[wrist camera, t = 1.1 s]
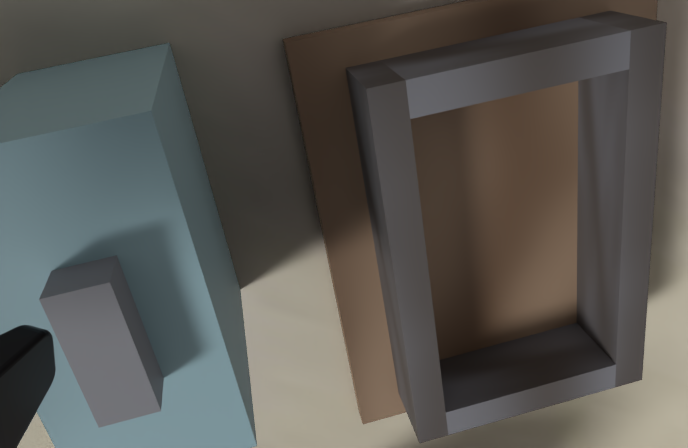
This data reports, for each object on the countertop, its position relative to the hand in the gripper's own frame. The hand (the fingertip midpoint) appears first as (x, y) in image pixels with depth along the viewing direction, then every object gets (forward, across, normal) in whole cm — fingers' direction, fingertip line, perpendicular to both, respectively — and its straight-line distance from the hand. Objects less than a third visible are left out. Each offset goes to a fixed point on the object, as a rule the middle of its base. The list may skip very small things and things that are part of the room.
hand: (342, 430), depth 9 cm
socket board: (+13, -3, +3) cm, 13 cm away
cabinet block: (+9, +7, +3) cm, 12 cm away
